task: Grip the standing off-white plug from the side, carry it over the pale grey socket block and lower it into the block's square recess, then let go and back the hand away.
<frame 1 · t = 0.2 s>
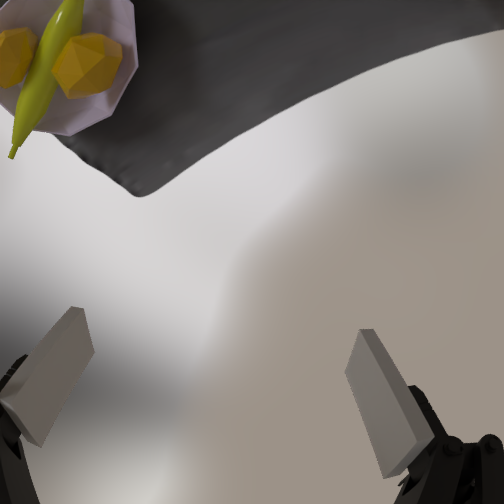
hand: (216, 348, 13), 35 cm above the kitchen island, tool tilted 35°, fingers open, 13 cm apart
fruit bowl: (66, 48, 27), on the kitchen island
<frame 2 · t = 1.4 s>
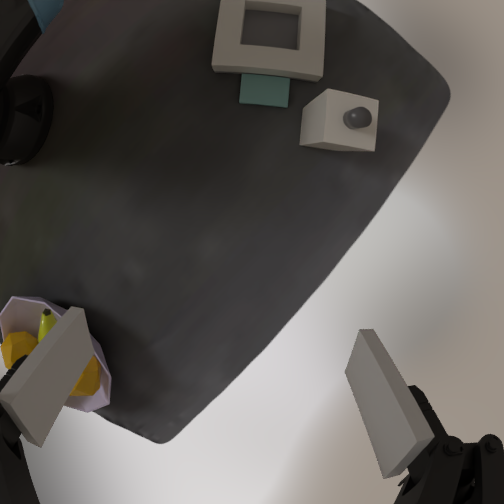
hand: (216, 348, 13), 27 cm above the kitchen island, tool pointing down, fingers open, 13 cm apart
socket: (269, 34, 29), on the kitchen island
plug: (320, 129, 34), on the kitchen island
fruit bowl: (62, 346, 45), on the kitchen island
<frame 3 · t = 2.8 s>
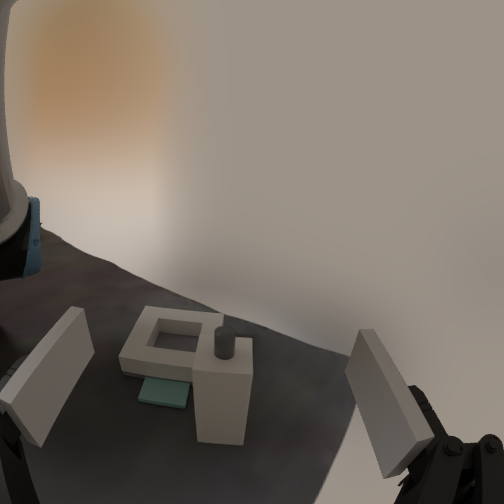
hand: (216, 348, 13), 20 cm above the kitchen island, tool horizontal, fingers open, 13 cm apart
socket: (176, 352, 40), on the kitchen island
plug: (221, 426, 29), on the kitchen island
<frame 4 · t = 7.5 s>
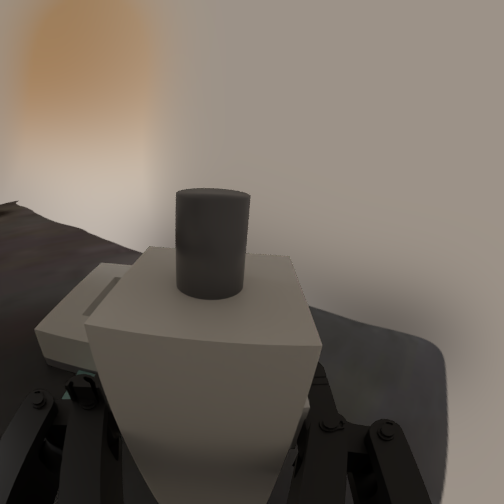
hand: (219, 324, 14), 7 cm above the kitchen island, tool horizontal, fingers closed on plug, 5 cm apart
socket: (140, 332, 24), on the kitchen island
plug: (212, 476, 12), on the kitchen island, touching gripper
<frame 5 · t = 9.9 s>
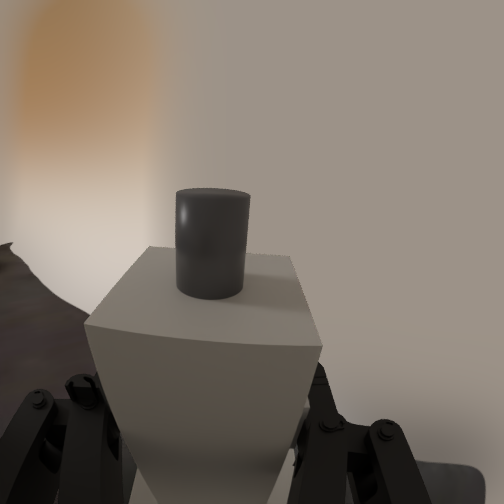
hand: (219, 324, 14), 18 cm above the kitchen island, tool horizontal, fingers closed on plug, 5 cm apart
plug: (212, 476, 12), point 11 cm above the kitchen island, touching gripper
when the fingers open (9 cm above the kitchen island, at t = 12.2 s): plug drops 1 cm, resting on socket.
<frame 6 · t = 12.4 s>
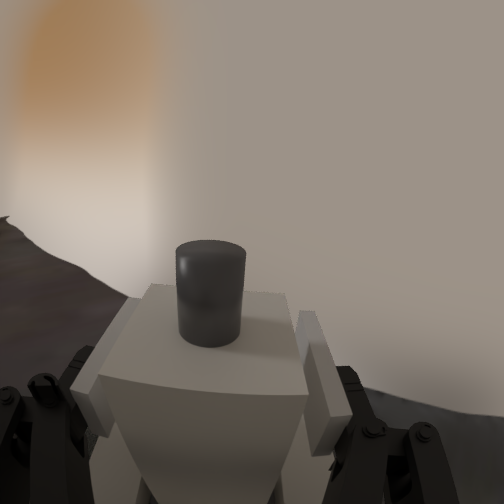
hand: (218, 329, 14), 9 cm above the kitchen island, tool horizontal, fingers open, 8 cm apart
socket: (213, 489, 13), on the kitchen island
plug: (213, 486, 12), point 1 cm above the kitchen island, touching socket
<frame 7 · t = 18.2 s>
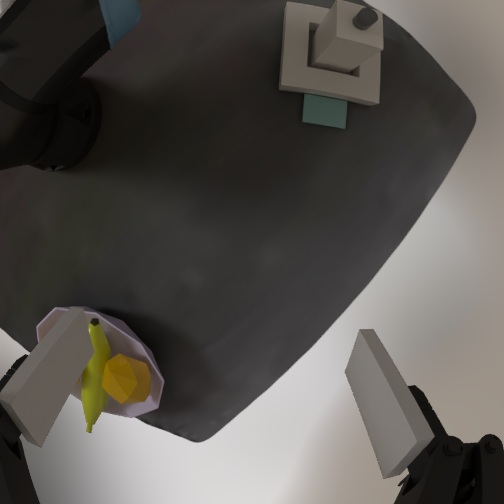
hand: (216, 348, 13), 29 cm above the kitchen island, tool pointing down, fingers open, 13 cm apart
socket: (327, 56, 32), on the kitchen island
plug: (329, 54, 31), point 1 cm above the kitchen island, touching socket
fruit bowl: (104, 353, 49), on the kitchen island
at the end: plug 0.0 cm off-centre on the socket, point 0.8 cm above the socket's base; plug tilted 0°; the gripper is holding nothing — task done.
